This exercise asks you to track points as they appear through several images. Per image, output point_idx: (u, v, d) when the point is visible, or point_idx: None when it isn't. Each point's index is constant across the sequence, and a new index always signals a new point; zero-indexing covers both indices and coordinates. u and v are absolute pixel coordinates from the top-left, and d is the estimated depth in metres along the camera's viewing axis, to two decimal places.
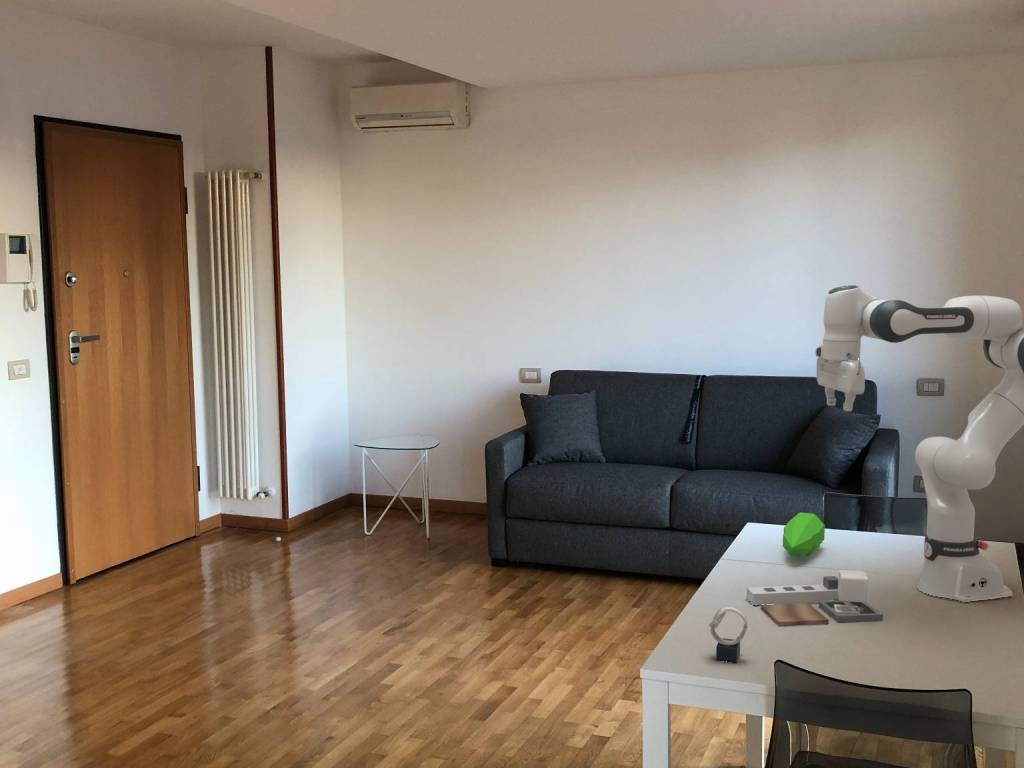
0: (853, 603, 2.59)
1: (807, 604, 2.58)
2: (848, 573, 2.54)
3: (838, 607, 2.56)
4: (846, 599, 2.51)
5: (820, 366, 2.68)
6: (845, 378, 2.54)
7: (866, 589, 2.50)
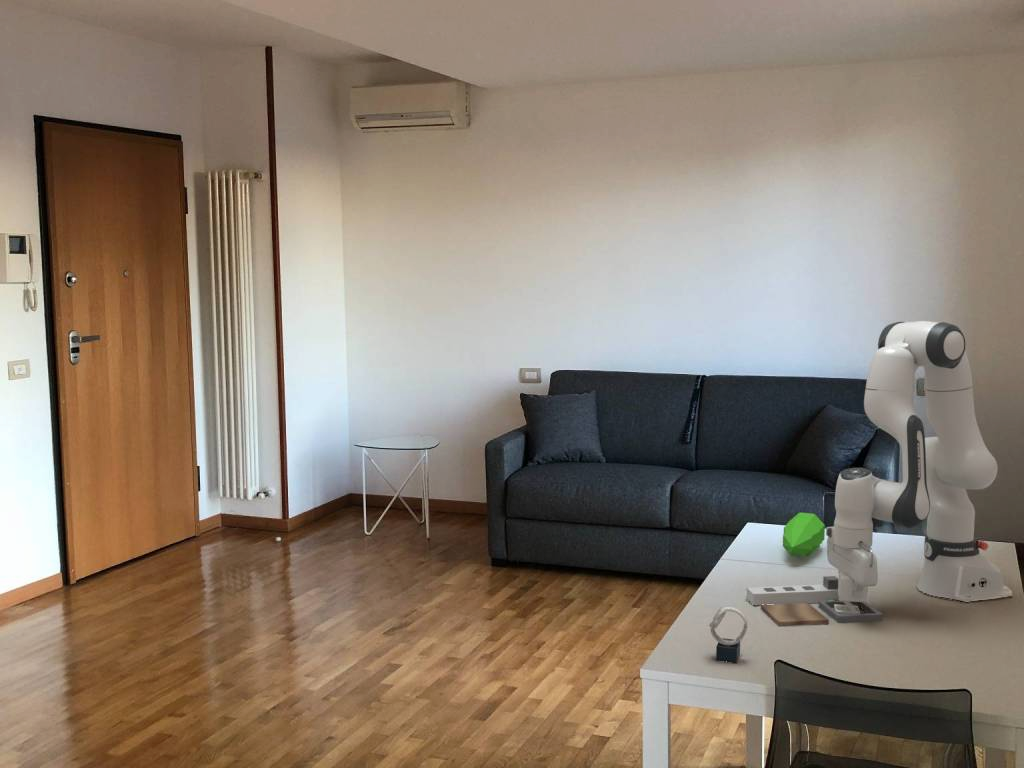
0: (853, 603, 2.59)
1: (807, 604, 2.58)
2: None
3: (838, 607, 2.56)
4: (846, 599, 2.51)
5: (831, 546, 2.60)
6: (857, 568, 2.46)
7: (866, 589, 2.50)
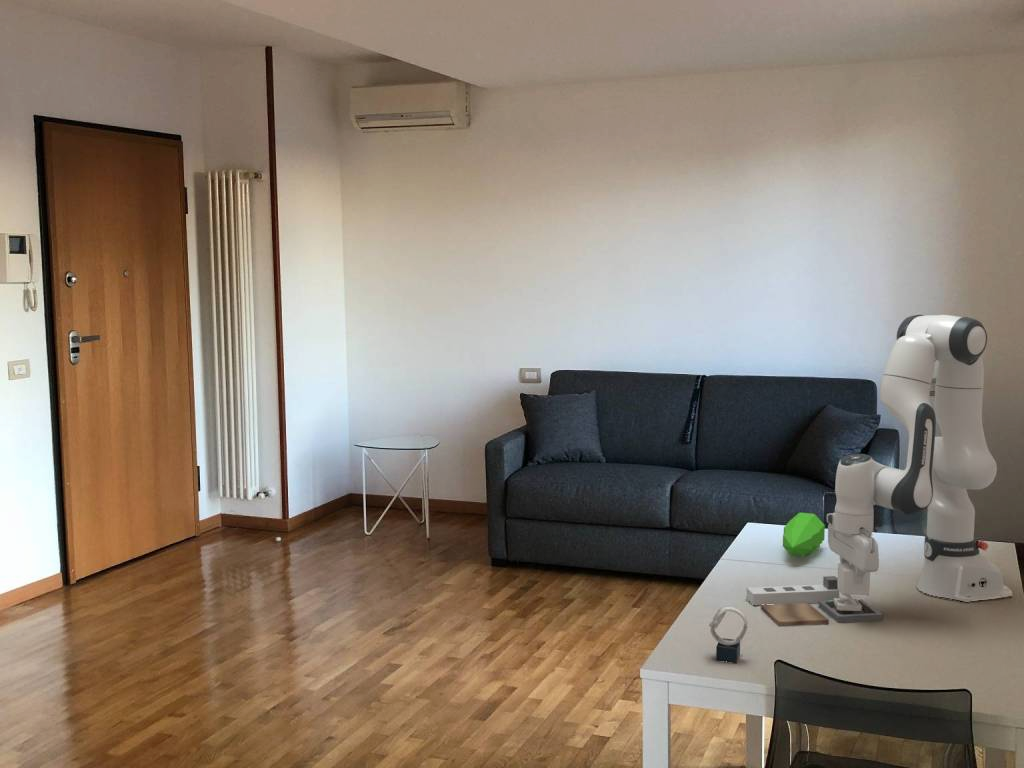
0: None
1: (807, 604, 2.58)
2: (849, 566, 2.53)
3: (838, 601, 2.56)
4: (848, 592, 2.51)
5: (832, 532, 2.60)
6: (858, 554, 2.46)
7: (868, 581, 2.50)
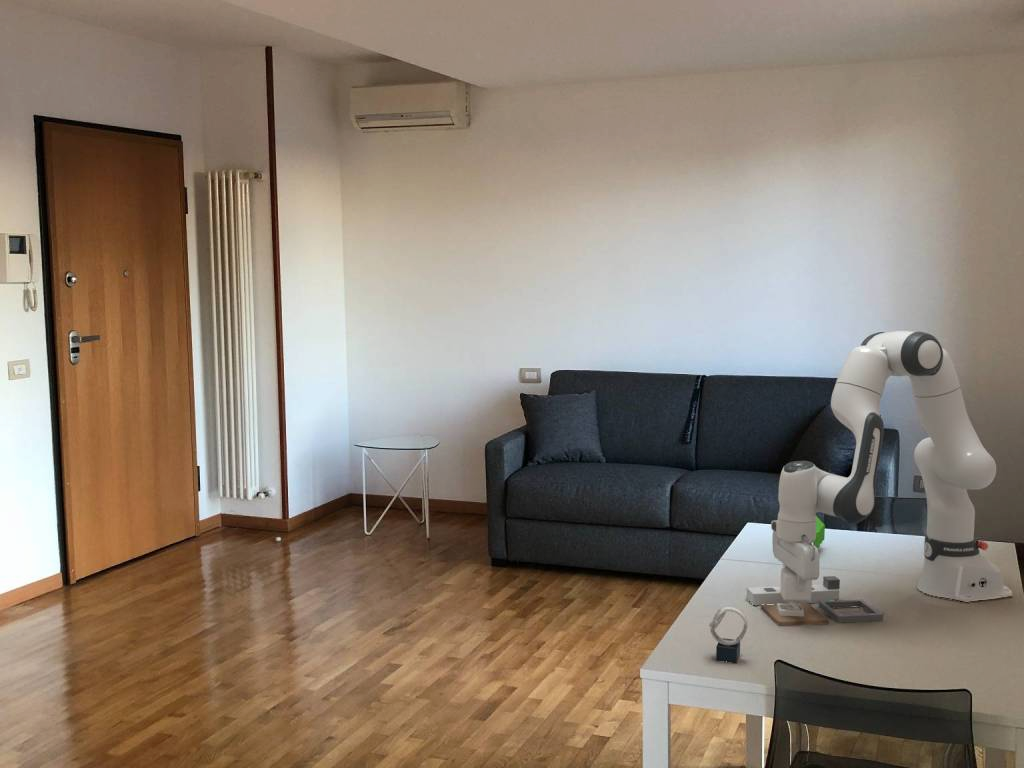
0: (853, 603, 2.59)
1: (807, 604, 2.58)
2: (791, 571, 2.51)
3: (781, 606, 2.54)
4: (790, 598, 2.49)
5: (776, 540, 2.58)
6: (799, 562, 2.44)
7: (810, 587, 2.48)
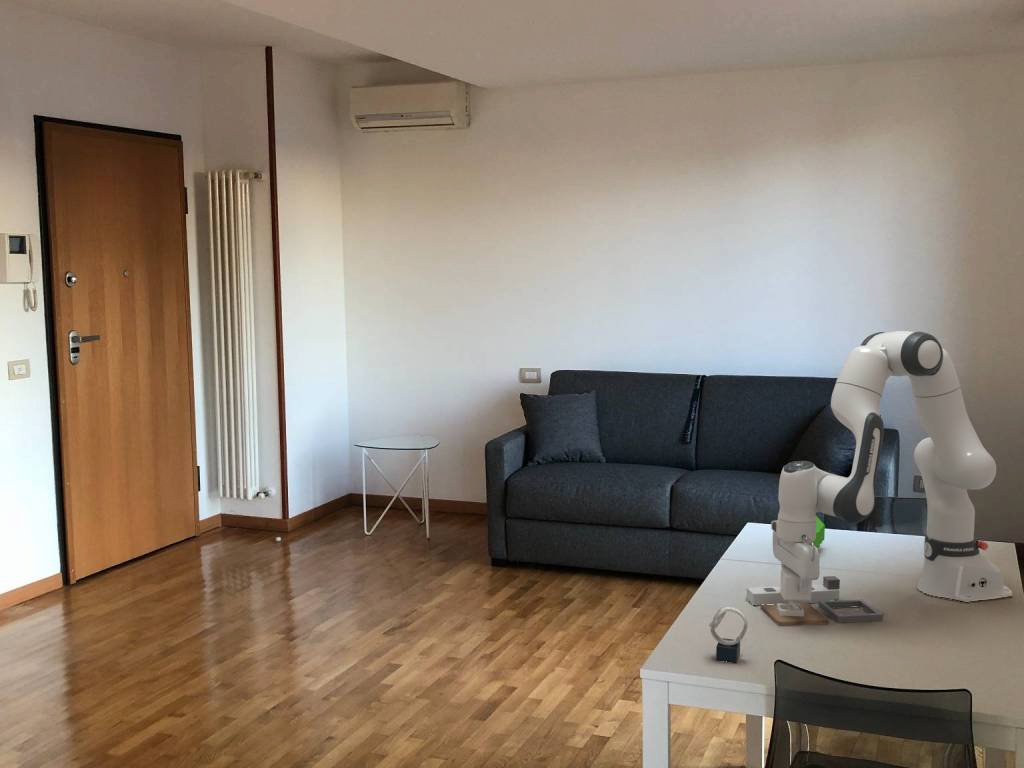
0: (853, 603, 2.59)
1: (807, 604, 2.58)
2: (791, 571, 2.51)
3: (781, 606, 2.54)
4: (790, 598, 2.49)
5: (776, 540, 2.58)
6: (799, 562, 2.44)
7: (810, 587, 2.48)
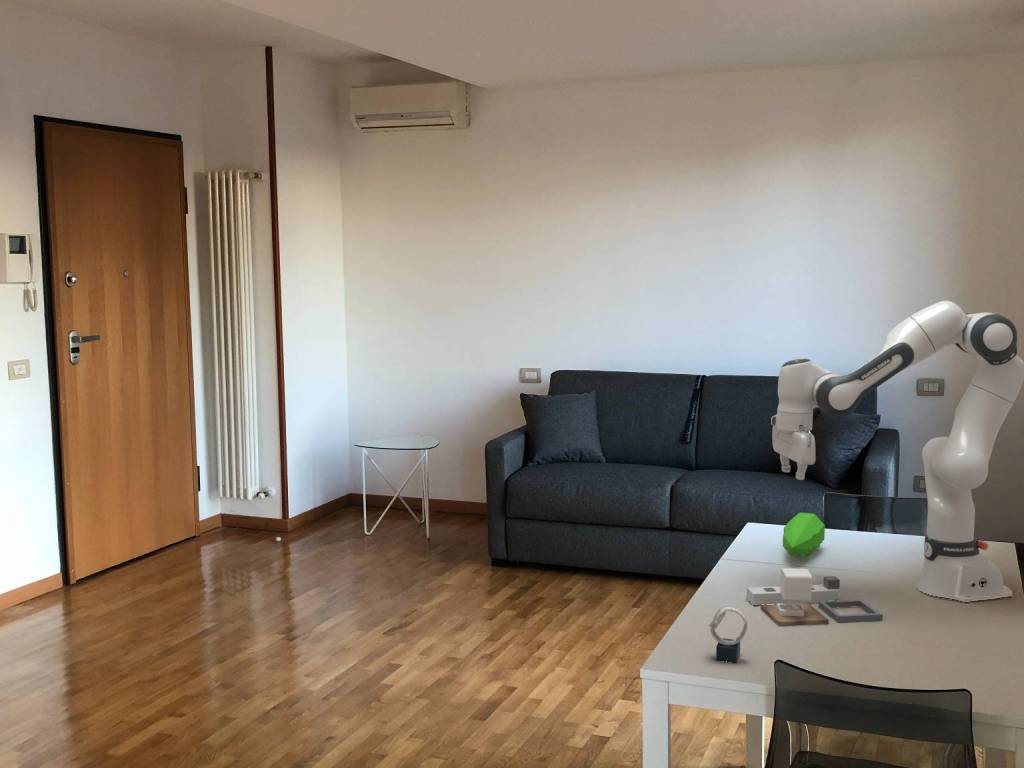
0: (853, 603, 2.59)
1: (807, 604, 2.58)
2: (791, 571, 2.51)
3: (781, 606, 2.54)
4: (790, 598, 2.49)
5: (776, 434, 2.79)
6: (797, 449, 2.65)
7: (810, 587, 2.48)
